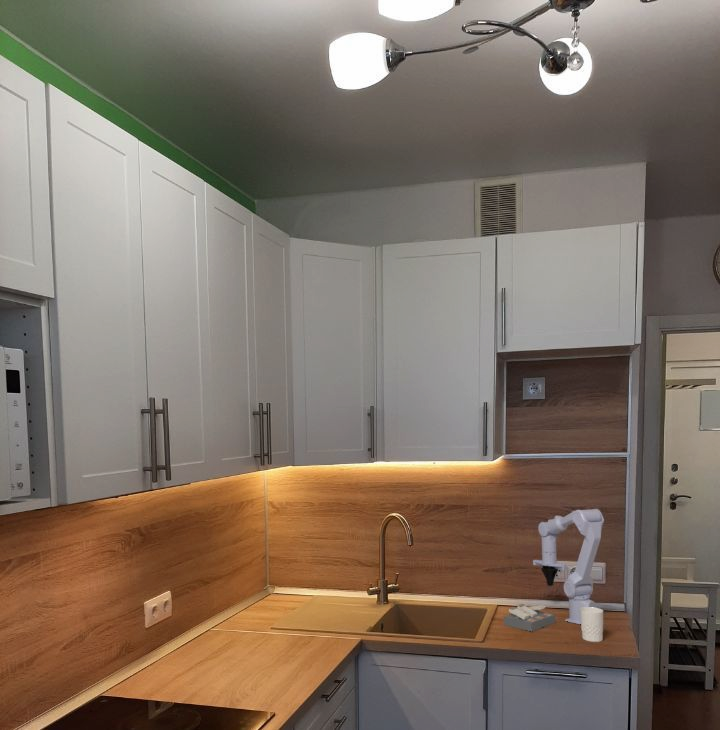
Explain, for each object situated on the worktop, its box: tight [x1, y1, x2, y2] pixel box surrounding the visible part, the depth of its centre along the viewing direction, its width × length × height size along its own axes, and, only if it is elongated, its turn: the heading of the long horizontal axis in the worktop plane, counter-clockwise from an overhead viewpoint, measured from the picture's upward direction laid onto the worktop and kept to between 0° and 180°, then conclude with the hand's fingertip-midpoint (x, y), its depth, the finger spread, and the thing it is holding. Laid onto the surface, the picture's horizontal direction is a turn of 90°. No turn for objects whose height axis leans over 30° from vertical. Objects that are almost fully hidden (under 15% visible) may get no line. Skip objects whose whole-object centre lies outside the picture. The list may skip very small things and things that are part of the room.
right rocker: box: [527, 604, 546, 611], centre depth 252 cm, size 7×4×1 cm, turn 44°
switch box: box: [503, 610, 556, 633], centre depth 247 cm, size 12×16×4 cm
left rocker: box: [508, 606, 529, 620], centre depth 245 cm, size 7×4×1 cm, turn 41°
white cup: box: [580, 607, 604, 643], centre depth 230 cm, size 8×8×10 cm
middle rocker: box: [516, 603, 537, 617], centre depth 248 cm, size 7×4×1 cm, turn 41°
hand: (550, 585), depth 267 cm, fingers closed
